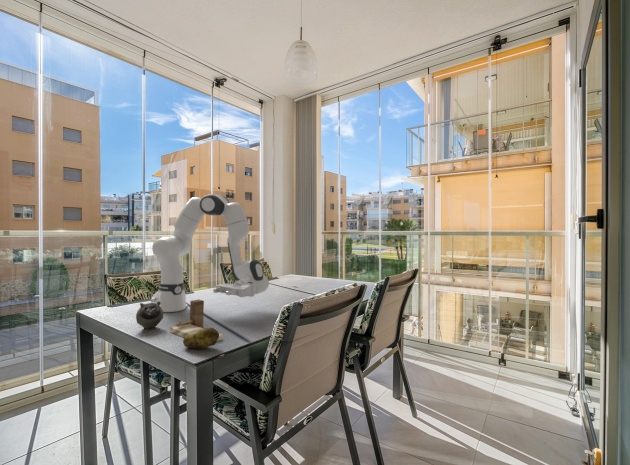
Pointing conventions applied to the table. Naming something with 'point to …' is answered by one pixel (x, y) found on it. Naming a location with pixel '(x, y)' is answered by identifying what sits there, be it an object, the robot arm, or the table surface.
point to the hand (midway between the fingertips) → (220, 292)
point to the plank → (188, 330)
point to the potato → (201, 338)
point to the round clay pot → (149, 316)
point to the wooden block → (195, 314)
